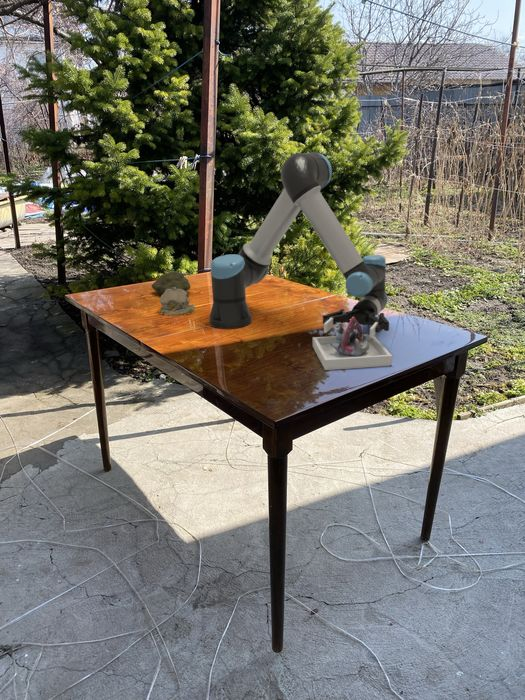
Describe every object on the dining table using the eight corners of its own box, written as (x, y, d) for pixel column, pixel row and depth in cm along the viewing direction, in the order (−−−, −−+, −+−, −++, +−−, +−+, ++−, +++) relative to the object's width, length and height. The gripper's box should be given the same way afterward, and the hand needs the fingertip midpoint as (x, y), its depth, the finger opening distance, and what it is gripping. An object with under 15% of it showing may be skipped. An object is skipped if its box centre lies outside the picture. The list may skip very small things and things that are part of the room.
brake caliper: (363, 355, 147) (341, 318, 148) (335, 369, 155) (315, 334, 156) (382, 343, 156) (361, 308, 157) (355, 358, 163) (335, 324, 164)
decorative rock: (162, 300, 221) (159, 277, 217) (149, 292, 234) (147, 270, 230) (194, 294, 228) (193, 272, 224) (181, 287, 241) (179, 266, 237)
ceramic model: (154, 316, 201) (152, 290, 197) (163, 307, 211) (160, 283, 207) (190, 316, 199) (188, 290, 195) (197, 307, 209) (195, 283, 206)
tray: (325, 370, 147) (325, 360, 146) (312, 346, 164) (312, 337, 163) (391, 365, 148) (392, 355, 147) (372, 342, 166) (372, 333, 165)
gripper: (405, 325, 165) (390, 348, 147) (328, 317, 175) (306, 338, 157) (406, 302, 162) (392, 322, 144) (329, 296, 172) (306, 314, 154)
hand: (347, 331), depth 150 cm, fingers open, 13 cm apart
